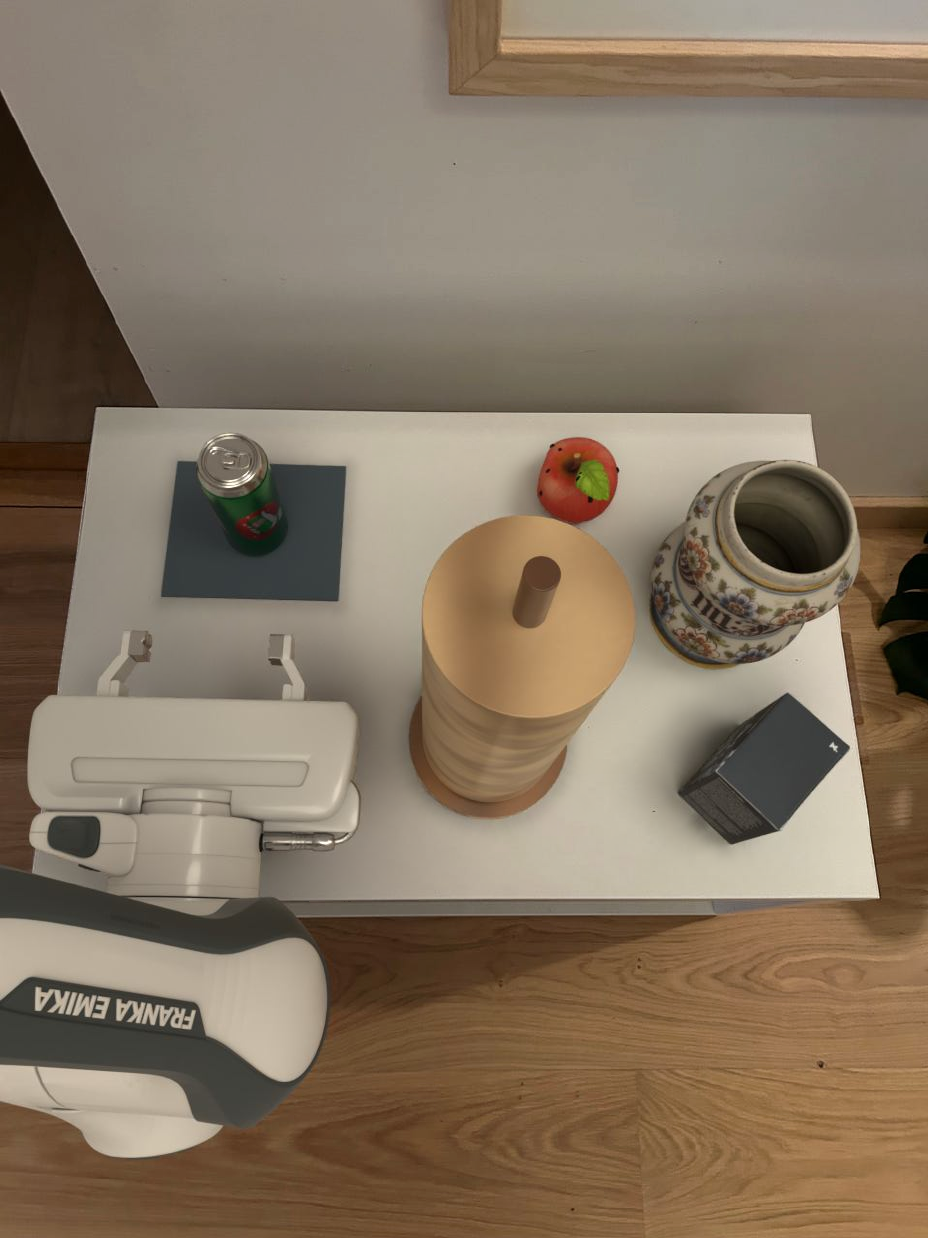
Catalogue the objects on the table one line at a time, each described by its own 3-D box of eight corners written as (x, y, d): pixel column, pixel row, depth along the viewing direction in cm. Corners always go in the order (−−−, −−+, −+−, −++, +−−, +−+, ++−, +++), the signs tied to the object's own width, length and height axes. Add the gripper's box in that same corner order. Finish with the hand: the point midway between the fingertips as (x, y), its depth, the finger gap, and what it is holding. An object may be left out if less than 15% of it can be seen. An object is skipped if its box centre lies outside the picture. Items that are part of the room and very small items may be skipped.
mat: (161, 596, 75) (161, 595, 75) (178, 461, 79) (177, 460, 78) (338, 601, 75) (338, 600, 75) (346, 467, 79) (345, 465, 79)
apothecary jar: (802, 667, 75) (914, 587, 58) (658, 695, 74) (729, 623, 57) (756, 530, 79) (849, 418, 62) (618, 556, 77) (674, 448, 60)
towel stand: (406, 818, 70) (392, 711, 37) (411, 663, 74) (402, 440, 41) (566, 820, 70) (695, 718, 37) (563, 666, 74) (676, 449, 41)
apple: (511, 494, 79) (523, 434, 69) (573, 451, 80) (594, 387, 71) (569, 562, 77) (589, 510, 68) (632, 517, 79) (660, 460, 69)
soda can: (230, 500, 77) (197, 425, 66) (291, 503, 78) (269, 429, 66) (222, 557, 76) (187, 490, 64) (285, 560, 76) (262, 494, 65)
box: (739, 722, 73) (789, 689, 63) (795, 774, 72) (855, 748, 62) (673, 793, 71) (714, 770, 61) (730, 848, 70) (781, 833, 60)
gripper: (355, 847, 55) (366, 623, 59) (-1, 841, 54) (37, 615, 59) (361, 856, 61) (370, 652, 65) (41, 851, 60) (72, 644, 65)
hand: (210, 634), depth 62 cm, fingers open, 8 cm apart
